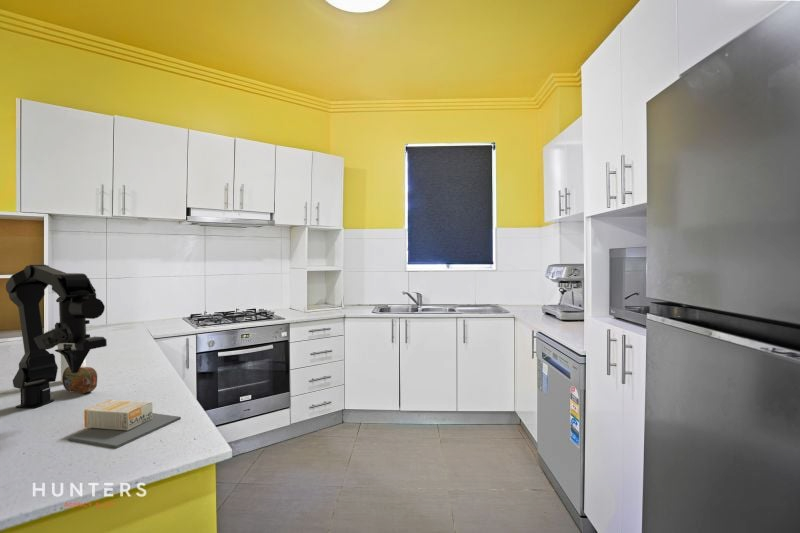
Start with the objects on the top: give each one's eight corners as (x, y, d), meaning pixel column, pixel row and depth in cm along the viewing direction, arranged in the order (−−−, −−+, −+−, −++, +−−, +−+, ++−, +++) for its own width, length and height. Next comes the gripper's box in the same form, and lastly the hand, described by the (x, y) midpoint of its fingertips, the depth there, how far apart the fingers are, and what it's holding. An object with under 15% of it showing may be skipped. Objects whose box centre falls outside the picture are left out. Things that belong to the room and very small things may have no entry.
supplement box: (83, 428, 103) (127, 431, 101) (83, 409, 103) (127, 412, 101) (112, 416, 111) (153, 419, 109) (111, 399, 111) (153, 401, 109)
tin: (61, 390, 137) (61, 365, 137) (71, 387, 140) (71, 363, 140) (89, 395, 132) (88, 369, 131) (99, 392, 134) (99, 367, 134)
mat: (68, 439, 98) (68, 437, 98) (136, 413, 115) (136, 410, 115) (116, 448, 93) (116, 445, 93) (180, 418, 110) (180, 416, 110)
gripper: (17, 321, 109) (19, 378, 109) (62, 322, 103) (65, 383, 103) (63, 316, 120) (65, 368, 120) (107, 316, 114) (109, 371, 114)
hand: (74, 372), depth 114 cm, fingers closed
